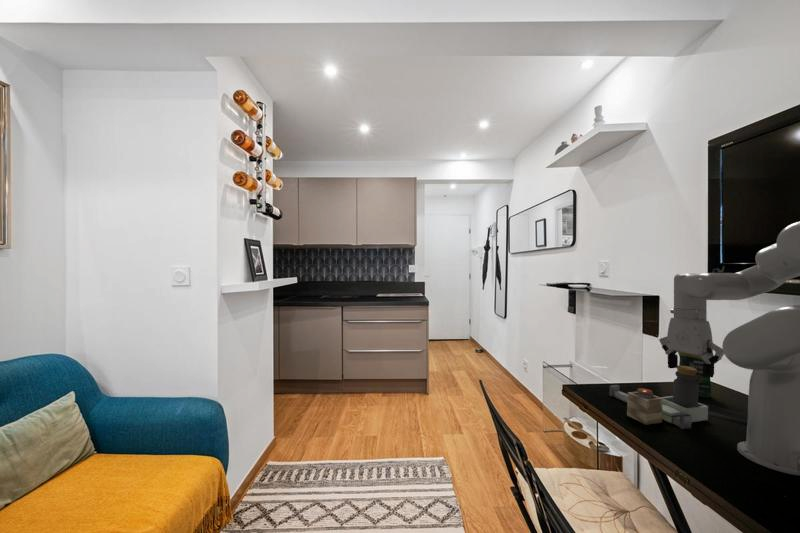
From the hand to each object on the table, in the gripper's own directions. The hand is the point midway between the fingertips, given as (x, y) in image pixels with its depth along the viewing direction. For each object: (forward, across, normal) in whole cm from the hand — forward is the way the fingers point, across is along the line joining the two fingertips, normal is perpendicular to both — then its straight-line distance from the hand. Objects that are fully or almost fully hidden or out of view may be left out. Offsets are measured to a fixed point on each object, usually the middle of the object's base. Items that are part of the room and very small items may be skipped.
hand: (689, 372), depth 103 cm
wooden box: (+14, -4, -13) cm, 20 cm away
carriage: (+14, -2, -2) cm, 14 cm away
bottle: (+14, -2, 0) cm, 14 cm away
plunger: (+10, -3, -13) cm, 17 cm away
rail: (+14, -8, -7) cm, 17 cm away
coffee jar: (+13, -14, +23) cm, 30 cm away
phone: (+14, +1, +15) cm, 21 cm away
